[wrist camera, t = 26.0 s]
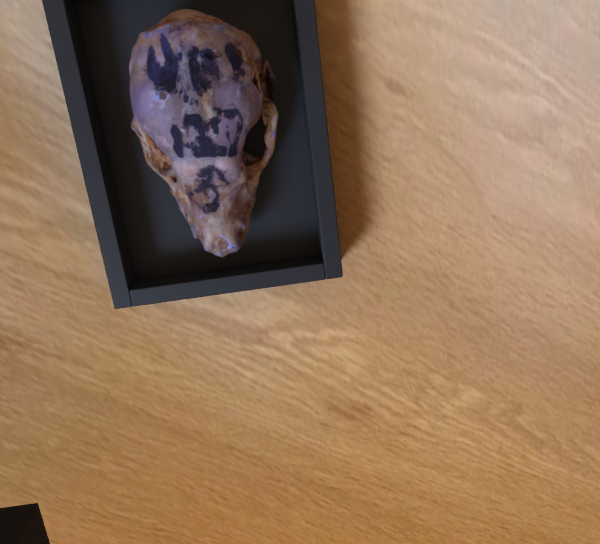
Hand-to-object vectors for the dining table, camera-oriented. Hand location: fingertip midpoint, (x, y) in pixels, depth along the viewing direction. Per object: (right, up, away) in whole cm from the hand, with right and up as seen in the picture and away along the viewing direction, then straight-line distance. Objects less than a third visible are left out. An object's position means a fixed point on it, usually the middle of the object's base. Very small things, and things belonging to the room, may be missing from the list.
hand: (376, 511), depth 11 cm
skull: (-7, +12, +20) cm, 24 cm away
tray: (-7, +12, +20) cm, 24 cm away
